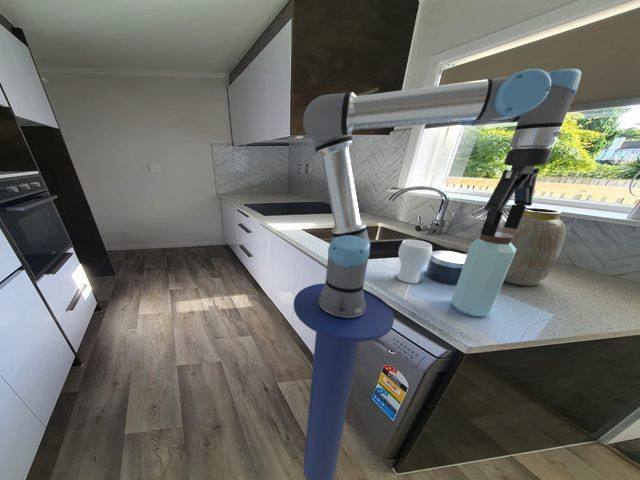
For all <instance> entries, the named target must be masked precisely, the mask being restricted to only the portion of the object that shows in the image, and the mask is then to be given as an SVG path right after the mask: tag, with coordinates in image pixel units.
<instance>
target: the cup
mask: <svg viewBox="0 0 640 480" xmlns="http://www.w3.org/2000/svg"><path fill="white" fill-rule="evenodd" d="M432 252H433V245H432V243H429V242H427V241H424V240H419V239H404V240H402V242H401V244H400V245H399V248H398V259H399V263H400V269H399V270H398V273H397V277H396V278H397V279H398V280H399V281H401V282H403V283H408V284H418V283H420V280H421V272H422V270H423V268H424V267H425V266H426V265H428V263H429V260H430V258H431V255H432Z"/></svg>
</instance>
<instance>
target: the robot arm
mask: <svg viewBox="0 0 640 480" xmlns="http://www.w3.org/2000/svg"><path fill="white" fill-rule="evenodd" d="M581 78H582V71H581V70H580V69H579V68H563V69H558V70H557V69H556V70H553V71H545V70H544V69H540V68H529V69H524V70H520V71H518V72H515V73H513V74H512V75H508V76H501V77H495V78H488V79H486V78H485V79H479V80H478V79H477V80H471V81H463V82H455V83H448V84H447V83H446V84H440V85H439V84H438V85H431V86H425V87H416V88H410V89H401V90H394V91H393V90H392V91H386V92H379V93H372V94H371V93H370V94H364V95H357V94H356V93H355V92H353V91H350V92H341V93H329V94H323V95H319V96H317V97H316V98H314V99H312V100H311V102H310V103H309V104H308V106H307V107H306V108H305V111H304V114H303V119H302V123H303V129H304V132H305V133H306V136H308V137H309V138H310V139H311V140H313V141H312V142H313V146H314V150H315V154H316V155H317V156H319V157H320V158H321V161H322V167H323V171H324V177H325V183H326V187H327V192H328V198H329V203H330V208H331V214H332V218H333V224H334V226H333V228H332V229H331V236H332V240H331V241H330V242H329V246H328V249H327V264H326V273H325V282H324V283H325V285H324V287H323V289H322V291H321V293H320V295H319V298H318V306H319V308H320V309H321V310H322V311H323V312H325V313H326V314H328V315H330V316H332V317H335V318H339V319H348V320H349V319H357V318H360V317H361V316H363V315H364V313H365V310H366V302H365V300H364V293H363V290H364V284H365V279H366V272H367V267H368V261H369V257H370V253H371V252H370V251H371V247H372V245H371V239H370V236H369V234H368V228H367V224H366V223H365V222H363V221H362V220H361V216H360V210H359V204H358V203H359V202H358V196H357V191H356V185H355V179H354V174H353V168H352V167H353V166H352V161H351V155H350V147H351V145H352V144H353V142H354V141H353V135H352V133H353V132H354V131H361V130H372V129H373V130H374V129H385V128H397V127H410V126H411V127H412V126H422V125H423V126H424V125H434V124H435V125H436V124H447V123H458V124H459V125H460V126H472V127H475V126H481V125H494V124H495V125H497V124H508V123H509V124H511V123H512V124H513V123H516V127H515V130H514V132H513V134H512V138H511V140H510V144H509V148H511V149H509V150H508V151H507V153H506V156H505V159H504V162H503V165H504V166H511V168H510V169H504V170H503V171H502V174H501V177H500V179H499V181H498V183H497V185H496V187H495V188H494V190H493V192H492V194H491V196H490V198H489V199H488V200H487V203H486V204H485V206H484V208H483V210H484V211H487V213H486V217H485V220H484V222H483V226H482V229H481V231H480V235H481V234H482V235H487V236H492V237H494V236H495V234H496V232H498V228H499V225H500V223H501V220H502V217H503V214H504V211H503V210H504V209H505V207H506V206H507V204H508V202H509V201H510V200H511V198H513V197H512V196H513V195H514V204H511V207H510V210H509V212H508V215H507V218H506V219H505V223H504V224H505V225H504V224H503V225H504V227H506V228H512V229H517V228H518V226H519V223H520V221H521V218H522V216H523V213H524V211H525V208H527V206H528V207H531V206H532V204H533V197H534V193H535V188H536V183H537V177H538V175H539V172H540V167H536V166H545V165H547V164H548V162H549V159H550V158H551V155H552V152H553V150H552V148H550V147H553V146H555V144H556V141H557V139H558V137H560V136H562V135H563V131H562V130H561V129H562V126H563V123H564V122H565V119H566V116H567V114H568V111H569V109H570V107H571V105H572V102H573V100H574V98H575V96H576V94H577V93H578V92H577V91H578V88H579V85H580V81H581Z"/></svg>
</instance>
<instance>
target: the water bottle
mask: <svg viewBox="0 0 640 480" xmlns="http://www.w3.org/2000/svg"><path fill="white" fill-rule="evenodd" d="M512 238H513V235H510V234H507V233H502V232H500V231H496V234H495V236H494V237H492V236H487V235H482V234H481V233H480V237H479V238H478V239H475V240H474V241H472V242H471V243H470V244H469V247H468V251H467V254H466V259H465V262H464V265H463V268H462V271H461V274H460V277H459V280H458V283H457V285H455V289H454V292H453V295H452V297H451V301H450V303H451V304H452V306H453V307H454V308H455V309H456V310H457V311H458V312H460V313H463V314H465V315H468V316H470V317H479V318H481V317H482V318H485V317H488V316H489V315H490V314H491V312H492V309H493V307H494V305H495V302H496V301H497V297H498V295H499V293H500V290H501V288H502V285H503V283H504V282H505V281H504V279H505V276H506V274H507V271H508V269H509V267H510V264H511V262H512V259H513V257H514V255H515V252H516V250H517V249H516V248H515V247H514V246H513V245H512V243H511V240H512Z"/></svg>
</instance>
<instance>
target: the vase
mask: <svg viewBox="0 0 640 480" xmlns="http://www.w3.org/2000/svg"><path fill="white" fill-rule="evenodd" d="M561 215H562V211H560V210H558V209H557V210H556V209H550V208H542V207H526V208H525V211H524V213H523V216H522V218H521V221H520V223H519V226H518V228H517V229H512V228H506V227H504V225H505V223H504V224H503V225H502V226H501V229H500V230H499V232H502V233H507V234H510V235H513V238H512V240H511V243H512V245H513V246H514V247H515V248H516V249H517V250H516V252H515V255H514V257H513V259H512V262H511V264H510V267H509V269H508V271H507V274H506V276H505V279H504V281H503V282H505V283H508V284H512V285H518V286H525V287H526V286H527V287H529V286H531V287H532V286H536V285H538V284H540V283H541V282H543V281H544V280H546V279H547V278H548V277H549V275H550V274H551V272H552V270H553V268H554V266H555V265H556V262H557V261H558V259H559V256H560V253H561V251H562V248H563V245H564V242H565V239H566V233H567V229H566V225H565V223H564V222H563V220H562V219H560V217H561Z"/></svg>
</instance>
